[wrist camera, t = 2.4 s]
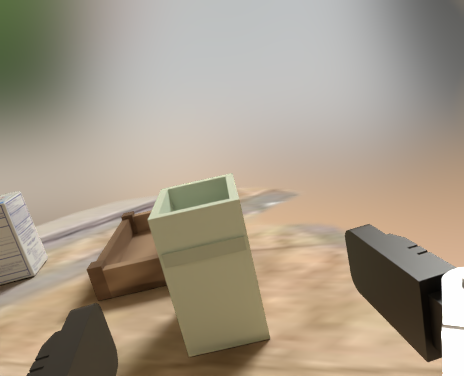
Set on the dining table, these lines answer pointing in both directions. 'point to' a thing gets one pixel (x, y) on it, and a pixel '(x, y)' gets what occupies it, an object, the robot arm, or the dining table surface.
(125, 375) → the dining table surface
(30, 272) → the medicine box
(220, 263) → the small square vase
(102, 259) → the walnut crate
